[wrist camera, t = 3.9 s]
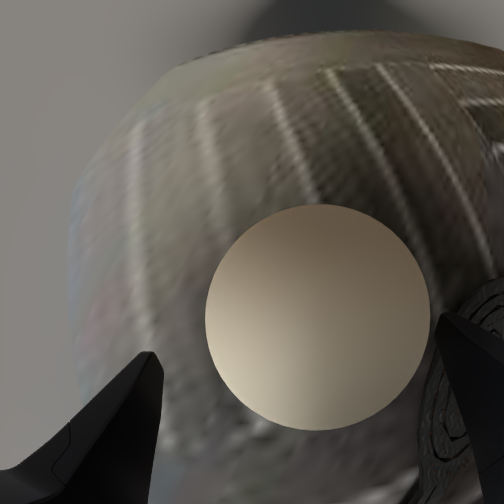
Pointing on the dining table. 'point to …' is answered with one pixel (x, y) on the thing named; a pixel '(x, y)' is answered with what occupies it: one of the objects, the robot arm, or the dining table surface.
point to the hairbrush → (451, 403)
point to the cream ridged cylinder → (317, 317)
